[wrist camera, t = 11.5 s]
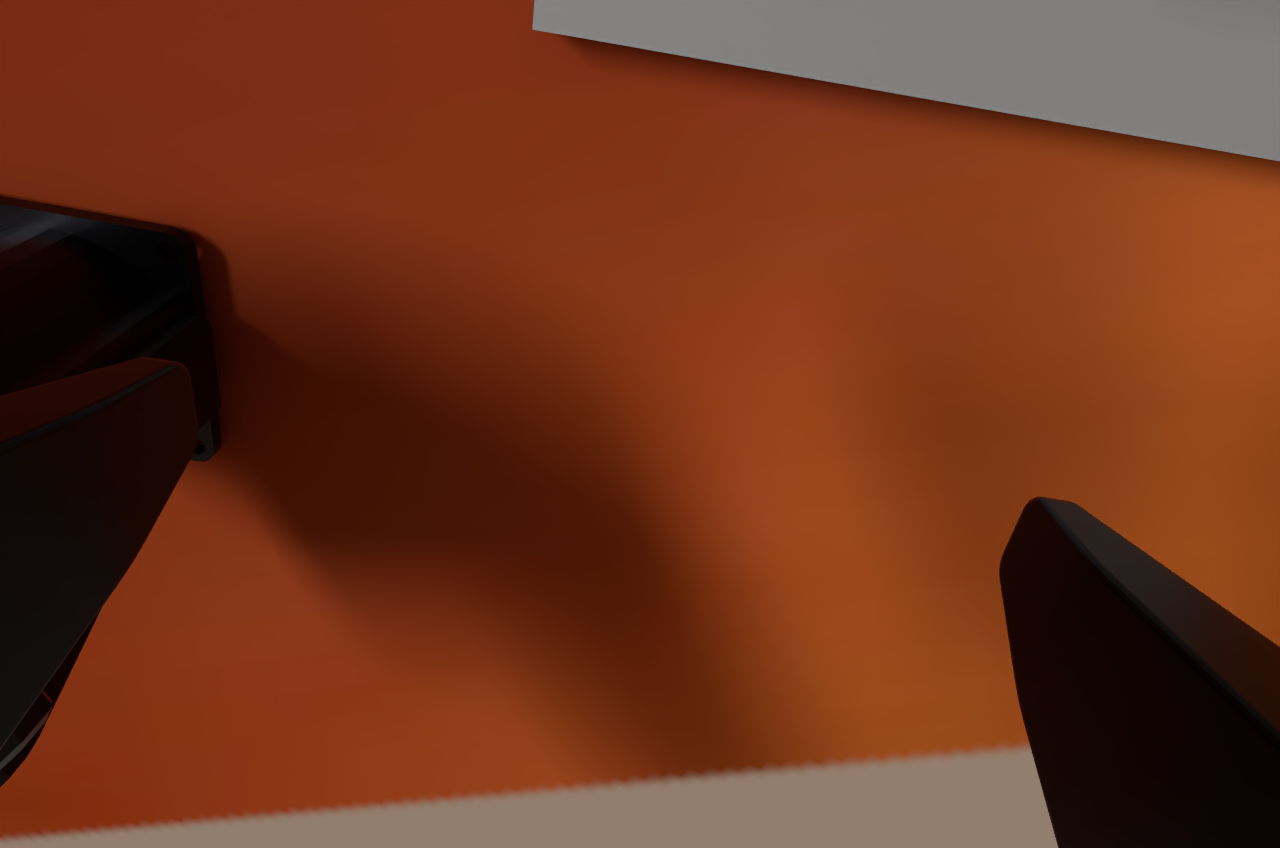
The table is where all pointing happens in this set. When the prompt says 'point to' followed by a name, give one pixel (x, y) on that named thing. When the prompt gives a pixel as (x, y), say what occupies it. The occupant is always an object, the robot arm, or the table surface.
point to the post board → (992, 55)
